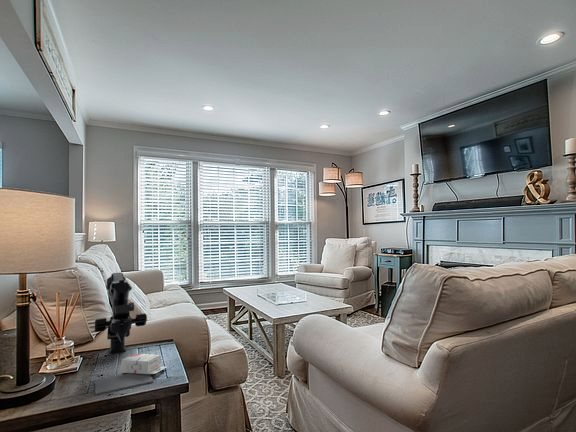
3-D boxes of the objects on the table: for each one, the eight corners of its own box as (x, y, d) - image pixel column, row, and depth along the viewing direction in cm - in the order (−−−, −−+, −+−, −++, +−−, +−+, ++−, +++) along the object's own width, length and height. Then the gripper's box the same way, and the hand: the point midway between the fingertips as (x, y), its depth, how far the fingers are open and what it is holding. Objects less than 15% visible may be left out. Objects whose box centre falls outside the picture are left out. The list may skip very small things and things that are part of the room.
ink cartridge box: (136, 352, 134) (168, 354, 131) (135, 365, 134) (168, 367, 130) (120, 359, 126) (155, 361, 123) (120, 373, 125) (154, 375, 122)
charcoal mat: (95, 381, 119) (95, 380, 119) (148, 370, 128) (148, 369, 128) (95, 395, 110) (95, 393, 110) (153, 382, 119) (153, 380, 119)
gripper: (95, 298, 130) (94, 335, 120) (146, 293, 139) (150, 327, 129) (94, 314, 136) (94, 350, 126) (143, 308, 146) (146, 341, 136)
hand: (122, 341), depth 129 cm, fingers closed
